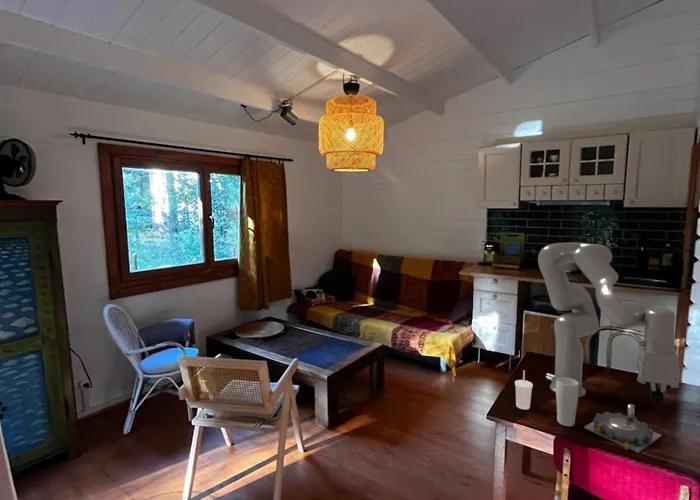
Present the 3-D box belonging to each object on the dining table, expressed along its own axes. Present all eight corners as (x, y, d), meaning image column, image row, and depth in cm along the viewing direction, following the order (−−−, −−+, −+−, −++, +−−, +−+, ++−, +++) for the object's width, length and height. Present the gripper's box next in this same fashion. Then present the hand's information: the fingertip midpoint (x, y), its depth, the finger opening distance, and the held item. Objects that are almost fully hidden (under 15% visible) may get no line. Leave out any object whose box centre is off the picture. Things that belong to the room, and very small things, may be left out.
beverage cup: (513, 408, 145) (514, 371, 144) (515, 401, 151) (516, 366, 149) (531, 412, 142) (532, 375, 141) (532, 404, 148) (533, 368, 146)
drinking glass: (550, 418, 138) (552, 377, 136) (568, 417, 138) (570, 376, 137) (562, 429, 131) (564, 386, 130) (581, 427, 132) (583, 385, 130)
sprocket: (584, 426, 132) (585, 406, 131) (608, 412, 140) (609, 394, 139) (638, 450, 118) (639, 428, 117) (661, 434, 126) (662, 413, 126)
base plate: (580, 429, 131) (580, 425, 130) (608, 414, 140) (608, 410, 140) (635, 455, 117) (635, 450, 117) (661, 436, 126) (662, 432, 126)
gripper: (632, 347, 126) (630, 402, 127) (692, 353, 119) (689, 412, 120) (628, 340, 133) (627, 393, 134) (685, 346, 126) (683, 401, 127)
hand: (656, 402), depth 127 cm, fingers closed
